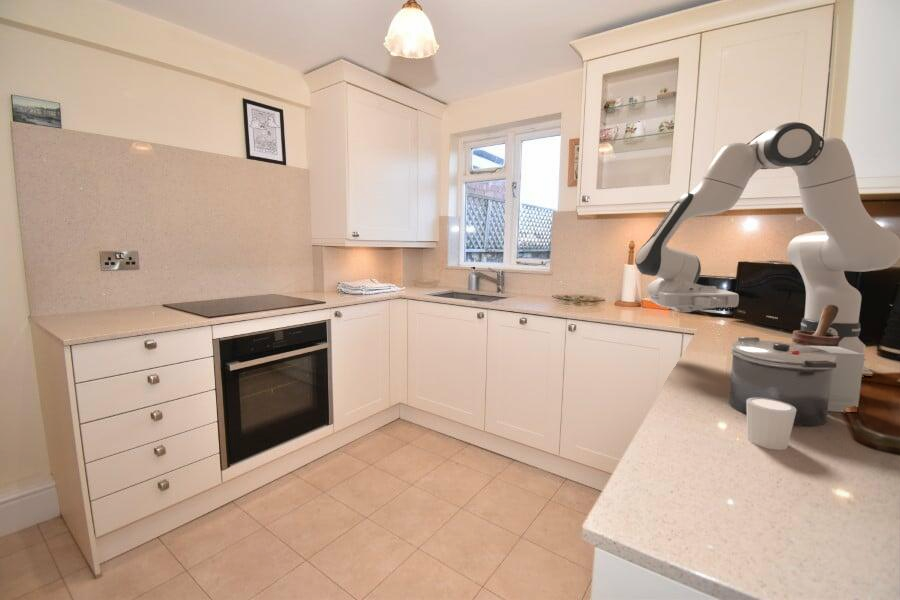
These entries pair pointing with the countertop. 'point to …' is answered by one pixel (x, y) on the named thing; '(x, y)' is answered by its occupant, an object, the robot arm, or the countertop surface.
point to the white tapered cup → (769, 422)
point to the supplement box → (844, 378)
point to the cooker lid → (784, 352)
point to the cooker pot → (781, 387)
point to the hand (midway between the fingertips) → (715, 302)
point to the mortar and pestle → (819, 331)
